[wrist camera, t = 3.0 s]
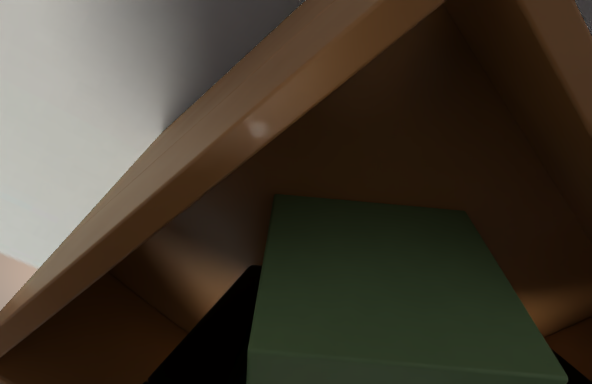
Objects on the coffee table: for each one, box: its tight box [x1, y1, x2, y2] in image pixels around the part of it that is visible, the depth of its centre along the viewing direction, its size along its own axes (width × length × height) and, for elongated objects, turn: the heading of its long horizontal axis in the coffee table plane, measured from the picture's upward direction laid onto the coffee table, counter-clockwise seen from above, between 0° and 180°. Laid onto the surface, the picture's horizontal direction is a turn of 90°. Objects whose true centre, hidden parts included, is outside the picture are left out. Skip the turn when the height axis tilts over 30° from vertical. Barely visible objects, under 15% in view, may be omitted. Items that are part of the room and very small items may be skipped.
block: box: [246, 194, 568, 384], centre depth 7 cm, size 4×4×4 cm
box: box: [0, 0, 592, 384], centre depth 11 cm, size 9×9×10 cm
